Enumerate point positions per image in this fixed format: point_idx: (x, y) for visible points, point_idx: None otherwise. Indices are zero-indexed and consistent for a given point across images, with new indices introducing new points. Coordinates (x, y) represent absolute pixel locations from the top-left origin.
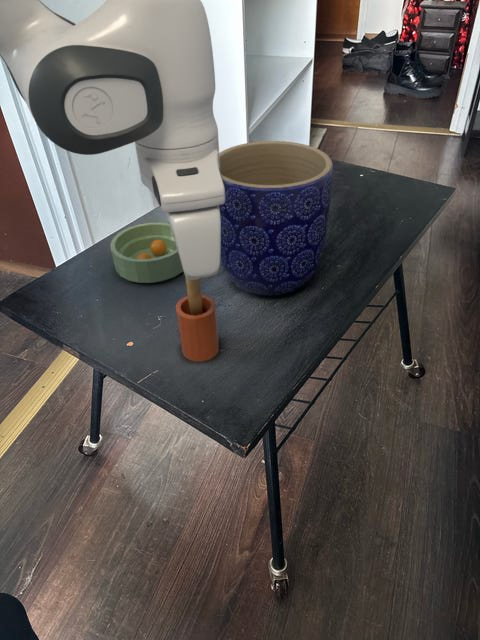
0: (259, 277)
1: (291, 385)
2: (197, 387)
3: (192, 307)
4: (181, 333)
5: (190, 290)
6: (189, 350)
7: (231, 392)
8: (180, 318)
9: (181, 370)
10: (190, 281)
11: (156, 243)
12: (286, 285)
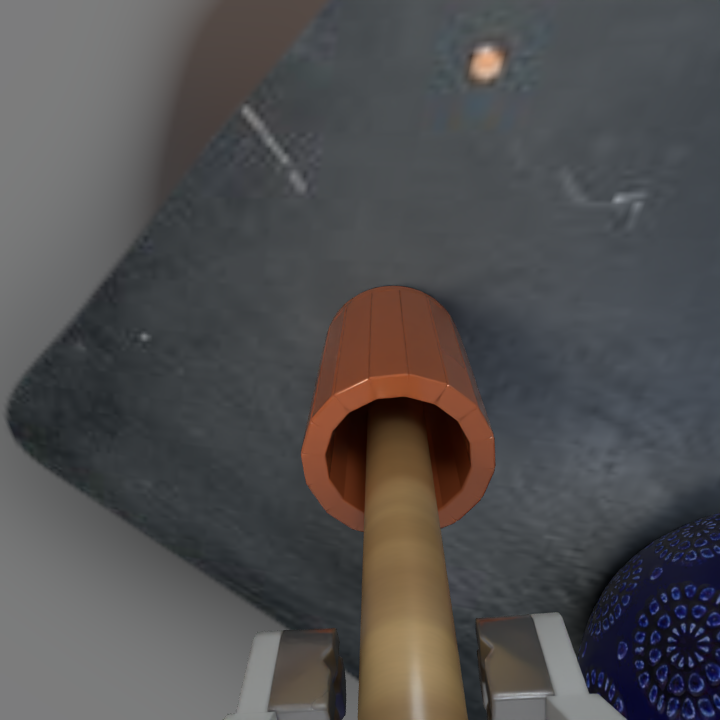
0: (608, 659)
1: (197, 566)
2: (205, 325)
3: (370, 455)
4: (355, 336)
5: (369, 523)
6: (333, 330)
7: (178, 420)
8: (340, 381)
9: (291, 277)
10: (363, 575)
11: None
12: None
